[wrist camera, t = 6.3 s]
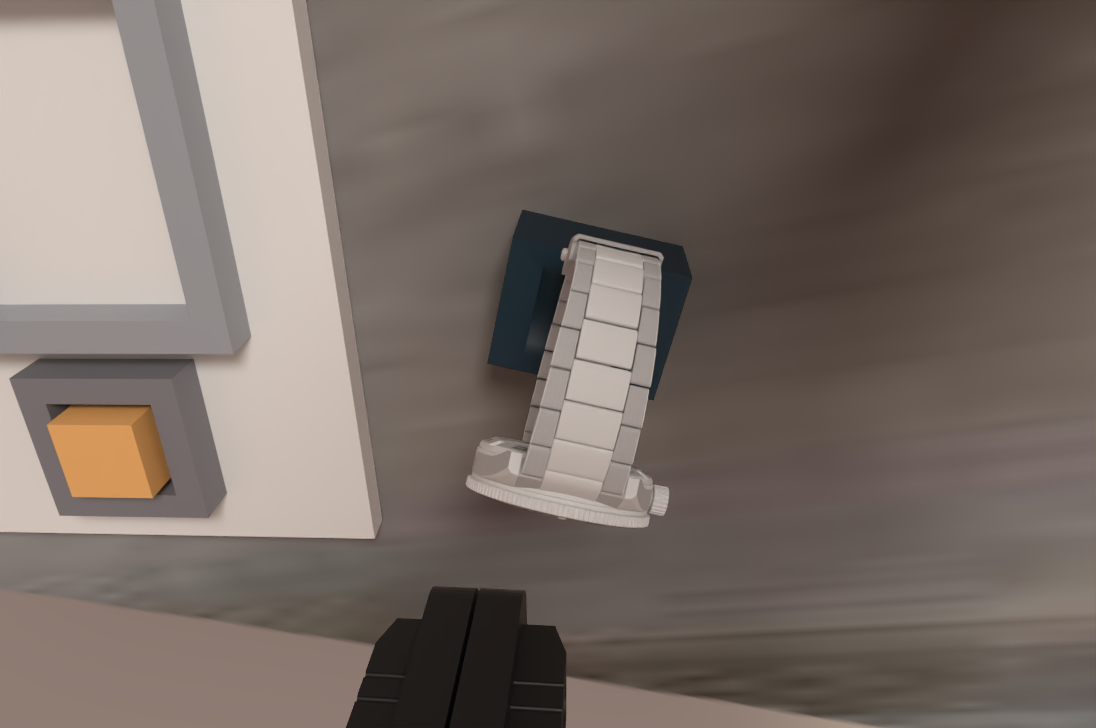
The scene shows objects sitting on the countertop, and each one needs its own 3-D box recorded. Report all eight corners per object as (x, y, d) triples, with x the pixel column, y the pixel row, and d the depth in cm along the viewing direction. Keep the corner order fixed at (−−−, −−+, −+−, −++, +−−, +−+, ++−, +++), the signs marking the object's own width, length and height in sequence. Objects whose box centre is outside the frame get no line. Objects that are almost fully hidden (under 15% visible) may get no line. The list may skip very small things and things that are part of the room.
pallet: (-290, -159, 23) (-400, -176, 20) (278, -185, 22) (236, -207, 19) (-11, 513, 33) (-61, 556, 31) (382, 520, 32) (363, 565, 30)
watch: (489, 373, 29) (430, 575, 19) (533, 157, 25) (489, 268, 15) (636, 405, 29) (654, 622, 19) (700, 196, 26) (763, 331, 16)
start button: (81, 397, 29) (46, 424, 27) (160, 397, 28) (131, 425, 27) (104, 466, 30) (72, 497, 28) (180, 466, 30) (152, 498, 28)
